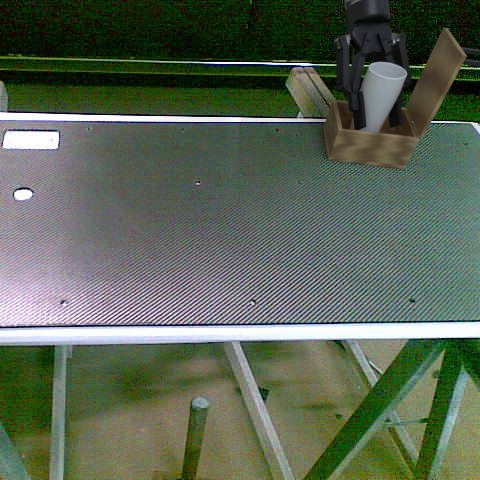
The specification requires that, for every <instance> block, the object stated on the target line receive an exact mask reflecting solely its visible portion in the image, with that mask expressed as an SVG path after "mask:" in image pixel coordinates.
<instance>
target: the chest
mask: <svg viewBox="0 0 480 480" xmlns="http://www.w3.org/2000/svg"><path fill="white" fill-rule="evenodd" d="M401 110H402V120H403V124H402V125H399V126H396V127H394V128H390V123H389V115H388V117H387V118H386V120H385V122H384V124H383V126H382V128H381V130H380V132H379V133H376V132H368V131H359V130H351V129H350V125H351V122H352V118H353V112H350V111H349V106H348V100H341V99H340V100H339V99H332V100H331V103H330V106H329V110H328V111H327V115H326V119H325V121H324V124H323V128H322V130H323V136H324V137H323V138H324V142H325V149H326V156H327V161H330V162H331V161H332V162H340V163H347V164H358V165H365V166H373V167H380V168H388V169H389V168H390V169H396V170H406V169H407V166H408V164H409V162H410V160H411V158H412V156H413V154H414V153H415V151H416V148H417V146H418V144H419V143H420V141H421V139H420V137H419V136H418V133H417V131H416V128H415V126H414V124H413V121H412V119H411V116H410V114H409V112H408V109H407V107H401Z"/></svg>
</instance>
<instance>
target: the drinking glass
mask: <svg viewBox="0 0 480 480" xmlns="http://www.w3.org/2000/svg"><path fill="white" fill-rule="evenodd" d="M406 76H407V72H406V71H405V69H403V68H402V67H400V66H398V65H395V64H392V63H387V62H377V61H376V62H372V63H370V64H369V65H368V67H367V69H366V71H365V74H364V77H363V80H362V82H361V84H360V88H359V92H363V96H364V106H365V116H366V126H367V127H365V128H363V129H360V130H359V131H368V132H376V133H379V132H380V130H381V128H382V126H383V124H384V122H385V120H386V118H387V117H388V115H389V113H390V111H391V109H392V107H393V105H394V104H395V102H396V100H397V98H398V96H399V94H400V92H401V89H402V87H403V84H404V82H405V79H406ZM350 129H351V130H354V120H353V118H352V122H351V125H350Z"/></svg>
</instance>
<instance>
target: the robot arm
mask: <svg viewBox="0 0 480 480" xmlns="http://www.w3.org/2000/svg"><path fill="white" fill-rule="evenodd" d="M343 5H344V9H345V11H344V17H345V19H344V20H345V25H346V26H345V27H346V30H347V34H346V35H345V34H341V35H340V36H338V37H337V38H336V39H335V40H333V42H332V46H333V48H334V51H335V72H336V73H335V74H336V75H335V78H336V79H335V84H336V87H335V88H336V90H335V91H336V92H337V93H338V94H340V93H341V94H343V97H345V98H347V101H348V106H349V111H350V112H353V120H354V130H360V129H363V128H365V127H367V126H366V116H365V106H364V96H363V92H360V87H361V81H362V76H363V72H364V67H365V62H366V59H367V57H368V56H370V57H373V59H374V61H376V62H387V63H392V64H395V65H398V66H400V67H402V68H403V69H405V71H406V72H407V76H406V79H405V82H404V84H403V87H402V89H401V92H400V94H399V96H398V98H397V100H396V102H395V104H394V105H393V107H392V109H391V111H390V113H389V123H390V128H394V127H396V126H399V125H402V124H403V120H402V110H401V107H402V108H404V105H405V101H404V100H405V99H404V89H405V88H407V87H409V86H411V85H412V84H413V78H412V73H411V72H412V71H411V68H410V67H411V66H410V62H409V58H408V52H407V48H406V42H407V33H406V32H404V31H403V32H400V33H394V32H393V31H392V29H391V27H390V20H391V11H390V2H389V0H343ZM350 46H351V47H352V49H353V50H352V55H351V66H350Z"/></svg>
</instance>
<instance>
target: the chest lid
mask: <svg viewBox="0 0 480 480" xmlns="http://www.w3.org/2000/svg"><path fill="white" fill-rule="evenodd" d="M467 54H468V55H476V56H480V49H477V48H470V47H464V46H463V47H461V46H460V44H459V42H457V40H456V38H455V37H454V36H453V33H452V32H451V31H450V30H449V28H448V27H443V28H442V30H441V32H440V35H439V36H438V39H437V40H436V42H435V45H434V47H433V49H432V51H431V53H430V55H429V57H428V59H427V62H426V63H425V65H424V67H423V70H422V72H421V73H420V76H419V78H418V80H417V82H416V84H415V86H414V89H413V90H412V92H411V95H410V97H409V99H408V101H407V103H406V105H405V108H407V110H408V112H409V115H410V117H411V120H412V122H413V124H414V127H415V129H416V132H417V134H418V136H419V139H420V138H421V139H423V138H424V137H425V135H426V133H427V131H428V130H429V127H430V125H431V124H432V122H433V120H434V118H435V117H436V114H437V112H438V111H439V109H440V107H441V105H442V104H443V102H444V99H445V98H446V96H447V94H448V92H449V90H450V88H451V86H452V85H453V83H454V81H455V79H456V77H457V75H458V73H459V72H460V70H461V68H462V66H463V65H464V66H470V67H471V66H472V67H480V60H475V59H467V57H468V56H467Z"/></svg>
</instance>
